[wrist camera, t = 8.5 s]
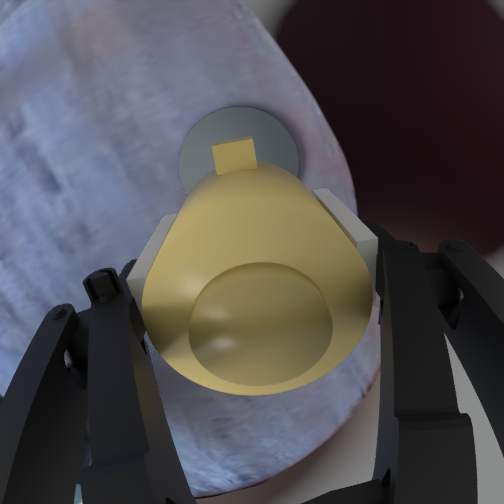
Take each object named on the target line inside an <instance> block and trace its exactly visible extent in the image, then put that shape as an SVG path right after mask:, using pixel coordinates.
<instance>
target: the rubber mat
mask: <svg viewBox="0 0 504 504" xmlns="http://www.w3.org/2000/svg"><path fill="white" fill-rule="evenodd" d="M250 136H251V137H252V138H253V143H254V149H255V155H256V161H259V162H265V163H270V164H273V165H276V166H279V167H281V168H283V169H285V170H287V171H288V172H290V173H292V174H293V175H294V176H296V177H298V173H299V157H298V152H297V148H296V145H295V142H294V140H293V138H292V136H291V135H290V133H289V132H288V130H287V129H286V128H285V127H284V126H283V125H282V123H280V122H279V121H278V120H277V119H276V118H274V117H273V116H271V115H269V114H268V113H265V112H263V111H261V110H258V109H254V108H249V107H228V108H224V109H220V110H218V111H215V112H213V113H211V114H209V115H207V116H205V117H204V118H203V119H201V120H200V121H199V122H198V123H197V124H196V125H195V126H194V127H193V128H192V129H191V130H190V132H189V133H188V135H187V136H186V138H185V140H184V142H183V144H182V147H181V150H180V154H179V162H178V169H179V177H180V181H181V184H182V187H183V189H184V191H185V193H186V195H187V196H188V194H189V192H190V191H191V190H192V189H193V187H194V186H195V185H196V184H197V183H198V182H199V181H200V180H201V179H202V178H203V177H205V176H206V175H207V174H209V173H210V172H212V171H214V170H216V166H215V161H214V156H213V151H212V145H213V143H216V142H222V141H227V140H232V139H238V138H244V137H250Z"/></svg>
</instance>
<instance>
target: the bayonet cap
mask: <svg viewBox="0 0 504 504" xmlns="http://www.w3.org/2000/svg"><path fill="white" fill-rule="evenodd" d="M212 151H213V156H214V161H215V166H216V170H214V171H212V172H210V173H209V174H207V175H206V176H205V177H203V178H202V179H201V180H200V181H199V182H198V183H197V184H196V185H195V186H194V187H193V189H192V190H191V191H190V192H189V194H188V196H187V198H186V199H185V201H184V203H183V205H182V207H181V209H180V211H179V213H178V215H177V217H176V218H175V220H174V222H173V224H172V226H171V228H170V230H169V232H168V234H167V236H166V238H165V240H164V242H163V244H162V246H161V248H160V250H159V252H158V255H157V257H156V259H155V261H154V263H153V265H152V267H151V269H150V271H149V273H148V276H147V279H146V282H145V285H144V289H143V297H142V314H143V320H144V325H145V328H146V330H147V333H148V336H149V338H150V340H151V342H152V344H153V345H154V347H155V349H156V350H157V351H158V353H159V354H160V355H161V357H162V358H163V359H164V360H165V361H166V362H167V363H168V364H169V365H170V366H171V367H172V368H174V369H175V370H176V371H177V372H179V373H180V374H182V375H183V376H185V377H186V378H188V379H189V380H191V381H193V382H195V383H198V384H200V385H202V386H205V387H207V388H210V389H213V390H217V391H221V392H225V393H231V394H237V395H267V394H275V393H280V392H285V391H289V390H292V389H295V388H299V387H301V386H304V385H306V384H309V383H311V382H313V381H315V380H317V379H319V378H320V377H322V376H324V375H325V374H327V373H328V372H330V371H331V370H333V369H334V368H335V367H336V366H338V365H339V364H340V363H341V362H342V361H343V360H344V359H345V358H346V357H347V356H348V355H349V354H350V353H351V352H352V350H353V349H354V348H355V347H356V345H357V344H358V342H359V341H360V339H361V337H362V336H363V334H364V332H365V329H366V327H367V325H368V322H369V318H370V315H371V310H372V303H373V288H372V282H371V277H370V274H369V271H368V268H367V266H366V263H365V262H364V260H363V258H362V256H361V254H360V253H359V251H358V250H357V249H356V247H355V246H354V245H353V244H352V242H351V241H350V240H349V238H348V237H347V236H346V235H345V233H344V232H343V231H342V230H341V228H340V227H339V226H338V225H337V223H336V222H335V221H334V220H333V218H332V217H331V216H330V215H329V214H328V212H327V211H326V210H325V209H324V208H323V206H322V205H321V204H320V203H319V202H318V200H317V199H316V198H315V197H314V196H313V194H312V193H311V192H310V191H309V190H308V189H307V187H306V186H305V185H304V184H303V183H302V182H301V181H300V180H299V179H298V178H297V177H296V176H294V175H293V174H292V173H290V172H288V171H287V170H285V169H283V168H281V167H279V166H276V165H273V164H270V163H265V162H259V161H256V155H255V149H254V143H253V138H252V137H251V136H250V137H244V138H238V139H232V140H227V141H222V142H216V143H213V145H212Z"/></svg>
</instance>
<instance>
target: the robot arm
mask: <svg viewBox="0 0 504 504" xmlns="http://www.w3.org/2000/svg"><path fill="white" fill-rule="evenodd" d="M312 194H313V196H314V197H315V198H316V199H317V200H318V202H319V203H320V204H321V205H322V206H323V208H324V209H325V210H326V211H327V212H328V214H329V215H330V216H331V217H332V218H333V220H334V221H335V222H336V223H337V225H338V226H339V227H340V228H341V230H342V231H343V232H344V233H345V235H346V236H347V237H348V238H349V240H350V241H351V242H352V244H353V245H354V246H355V247H356V249H357V250H358V251H359V253H360V254H361V256H362V258H363V260H364V262H365V263H366V266H367V268H368V271H369V274H370V277H371V282H372V288H373V303H372V305H375V298H376V292H377V293H378V295H379V296H380V298H381V299H380V310H379V321H378V324H380V333H381V379H380V407H379V425H378V437H377V448H376V458H375V467H374V473H373V477H372V480H371V481H368V482H365V483H361V484H357V485H353V486H350V487H345V488H341V489H337V490H333V491H330V492H327V493H325V494H323V495H321V496H318V497H316V498H314V499H311V500H309V501H306V502H304V503H301V504H478V502H477V501H478V500H477V499H478V498H477V497H478V496H477V495H478V494H477V468H476V455H475V444H474V436H473V427H472V423H471V419H470V417H469V415H468V414H467V413H462V414H461V413H460V412H459V409H458V404H457V397H456V391H455V385H454V379H453V374H452V368H451V363H450V358H449V353H448V349H447V344H446V340H445V336H444V333H445V335H446V336H447V338H448V340H449V342H450V344H451V345H452V347H453V349H454V351H455V352H456V354H457V356H458V358H459V360H460V362H461V364H462V366H463V368H464V369H465V371H466V373H467V375H468V377H469V379H470V381H471V383H472V385H473V387H474V389H475V391H476V394H477V396H478V398H479V400H480V402H481V404H482V406H483V408H484V411H485V413H486V415H487V417H488V420H489V422H490V424H491V427H492V429H493V431H494V434H495V436H496V438H497V441H498V443H499V446H500V449H501V451H502V454H503V456H504V279H503V278H502V277H501V276H500V275H499V274H498V272H496V270H494V268H493V267H492V266H490V265H489V264H488V263H487V262H486V261H485V260H484V259H483V258H482V257H481V256H480V255H479V254H478V253H477V252H476V251H475V250H474V249H473V248H472V247H471V246H470V245H468V244H467V243H465V242H463V241H460V240H459V239H456V240H455V239H446V240H442V241H441V242H440V243H439V246H438V252H420V250H419V248H418V246H417V245H416V244H414V243H413V242H410V241H406V240H396V239H395V238H394V237H393V236H392V235H391V234H390V233H389V232H387V231H386V230H385V229H384V228H383V227H382V226H381V225H380V224H379V223H377V222H375V221H373V220H370V219H366V220H359V219H358V218H357V217H356V216H355V215H354V214H353V213H352V212H351V211H350V210H349V209H348V208H347V207H346V206H345V205H344V204H343V203H342V202H341V201H340V200H339V199H338V198H336V197H335V196H334V195H333V194H332V193H331V192H330V191H329V190H328V189H327V188H322V189H315V190H312ZM177 215H178V213H175V214H170V215H165V216H163V218H162V219H161V221H160V222H159V224H158V226H157V227H156V229H155V231H154V232H153V234H152V236H151V237H150V239H149V241H148V242H147V244H146V246H145V247H144V249H143V251H142V253H141V254H140V256H139V258H138V259H134V260H131V261H130V262H129V263H128V264H127V265H125V267H124V268H123V270H122V272H121V273H120V275H119V277H118V275H117V273H116V271H115V269H113V268H104V269H100V270H98V271H95V272H93V273H92V274H90V275H88V276H87V277H86V278H85V279H84V281H83V285H84V287H85V290H86V292H87V294H88V296H89V298H90V301H91V308H90V309H87V310H84V311H81V312H78V313H76V312H75V309H74V307H73V306H72V305H71V304H62V305H58V306H56V307H54V308H53V309H52V310H51V311H50V312H48V314H47V315H46V316H45V318H44V320H43V321H42V323H41V325H40V327H39V328H38V330H37V332H36V334H35V336H34V337H33V339H32V341H31V343H30V345H29V347H28V349H27V351H26V352H25V354H24V356H23V358H22V360H21V362H20V364H19V366H18V368H17V370H16V372H15V374H14V376H13V379H12V381H11V383H10V385H9V387H8V389H7V392H6V394H5V396H4V397H3V396H2V395H1V394H0V504H80V502H81V500H82V502H83V504H197V502H196V501H195V499H194V497H193V495H192V493H191V491H190V488H189V485H188V483H187V480H186V477H185V475H184V472H183V469H182V466H181V463H180V460H179V457H178V454H177V451H176V448H175V445H174V442H173V439H172V436H171V433H170V429H169V426H168V423H167V419H166V416H165V413H164V409H163V406H162V402H161V398H160V395H159V391H158V387H157V383H156V379H155V375H154V371H153V367H152V363H151V359H150V354H149V350H148V346H147V344H146V341H145V339H144V335H145V332H146V328H145V325H144V320H143V314H142V297H143V289H144V285H145V282H146V279H147V276H148V273H149V271H150V269H151V267H152V265H153V263H154V261H155V259H156V257H157V255H158V252H159V250H160V248H161V246H162V244H163V242H164V240H165V238H166V236H167V234H168V232H169V230H170V228H171V226H172V224H173V222H174V220H175V218H176V217H177ZM64 356H65V357H66V359H67V361H68V365H67V367H66V364H65V361H64Z"/></svg>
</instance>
